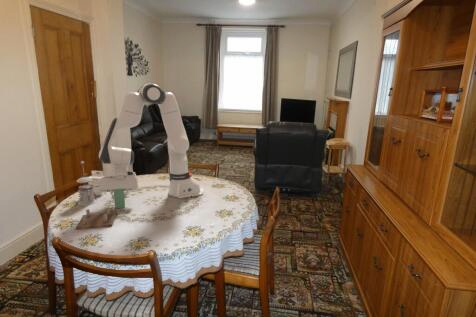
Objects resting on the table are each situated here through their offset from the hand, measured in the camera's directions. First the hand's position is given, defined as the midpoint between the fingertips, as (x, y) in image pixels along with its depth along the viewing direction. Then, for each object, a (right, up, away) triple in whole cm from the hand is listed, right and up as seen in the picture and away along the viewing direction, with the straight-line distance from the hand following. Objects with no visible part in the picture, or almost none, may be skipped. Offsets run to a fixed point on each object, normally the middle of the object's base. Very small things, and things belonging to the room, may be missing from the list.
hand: (119, 197), depth 161 cm
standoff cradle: (-5, -10, -15) cm, 19 cm away
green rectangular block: (0, -6, +2) cm, 6 cm away
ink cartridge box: (-22, -1, +20) cm, 29 cm away
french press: (-21, -4, +7) cm, 23 cm away
